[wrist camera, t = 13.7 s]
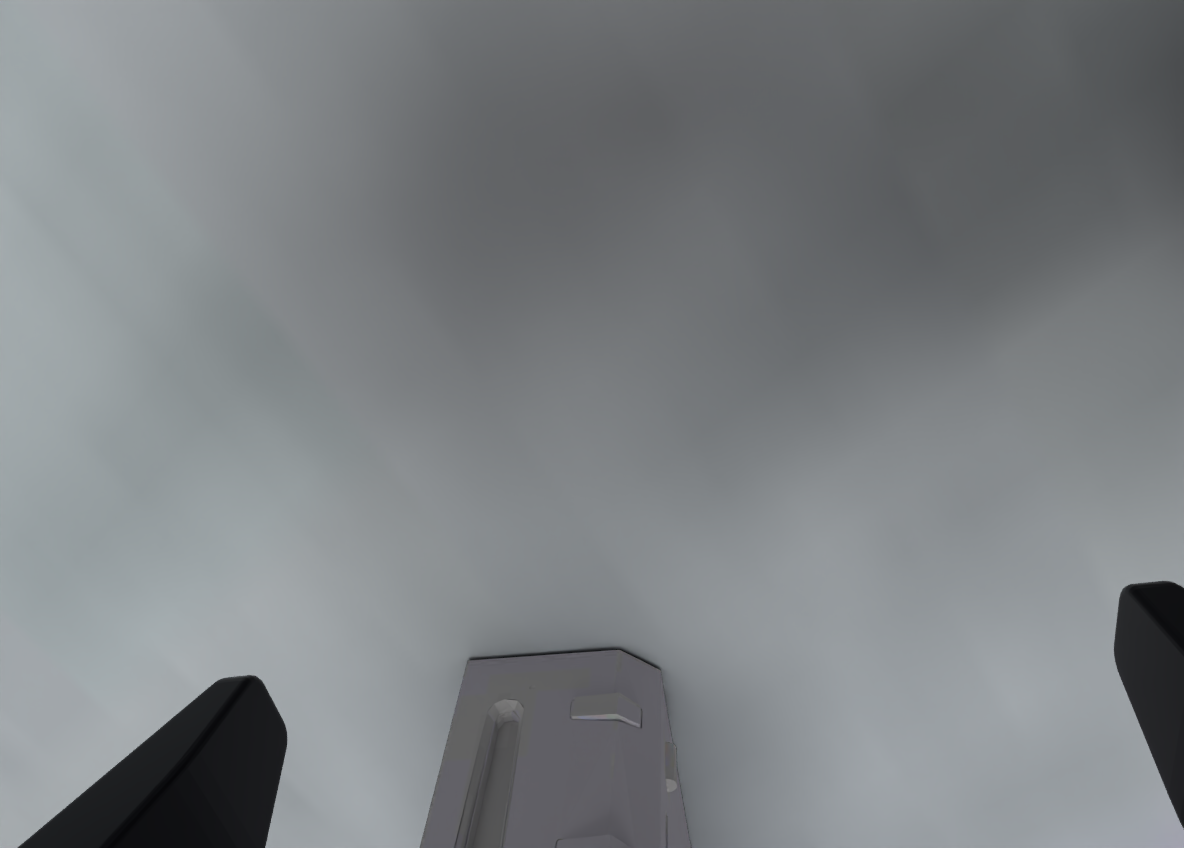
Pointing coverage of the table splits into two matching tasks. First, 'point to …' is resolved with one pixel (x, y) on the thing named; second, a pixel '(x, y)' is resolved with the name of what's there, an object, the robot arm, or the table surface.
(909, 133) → the table surface
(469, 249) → the table surface
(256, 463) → the table surface
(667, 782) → the game console
